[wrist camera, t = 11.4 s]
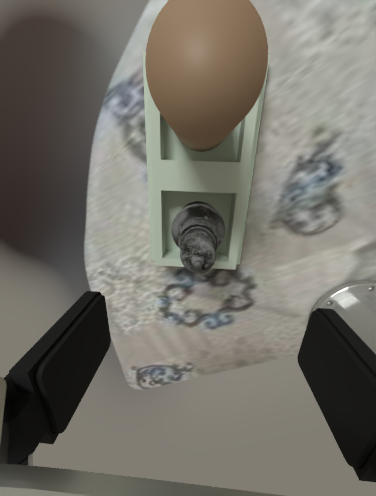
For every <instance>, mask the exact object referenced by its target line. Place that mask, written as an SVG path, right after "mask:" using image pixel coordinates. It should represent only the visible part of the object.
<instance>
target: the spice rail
mask: <svg viewBox="0 0 376 496" xmlns="http://www.w3.org/2000/svg"><path fill="white" fill-rule="evenodd" d="M269 57H270V53H268V45H267V37H266V33H265V29H264V26H263V23H262V21H261V18H260V16H259V14H258V12H257V10H256V9H255V7H254V6H253V5H252V3H251V2H250V1H249V0H169V1H168V2H167V3H166V5H165V6H164V7H163V8H162V10H161V11H160V13H159V14H158V16H157V18H156V20H155V22H154V24H153V26H152V29H151V32H150V35H149V39H148V43H147V48H146V51H143V74H144V99H145V125H146V150H147V175H148V200H149V225H150V250H151V260H154V265H158V266H177V267H184V265H183V264H182V262H181V258H180V248H179V247H178V246H177V245H176V244H175V242H174V240H173V237H172V234H171V226H172V222H173V220H174V218H175V216H176V214H177V213H178V212H179V211H180V210H181V209H182V208H183V207H184V206H186V205H187V204H189V203H192V202H196V201H202V202H205V203H208V204H209V205H211V206H212V207H213V208H214V209H215V210H217V211H218V213H219V214H220V215H221V216H222V218H223V220H224V224H225V236H224V239H223V241H222V243H221V244H220V246H219V247H218V248H217V249H216V259H215V262H214V265H213V266H212V267H211V268H214V269H233V270H236V264H239V265H240V258H241V251H242V244H243V238H244V231H245V224H246V217H247V210H248V203H249V196H250V189H251V182H252V175H253V168H254V161H255V154H256V147H257V140H258V134H259V127H260V120H261V113H262V106H263V99H264V92H265V85H266V78H267V71H268V64H269Z"/></svg>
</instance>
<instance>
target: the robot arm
mask: <svg viewBox="0 0 376 496" xmlns="http://www.w3.org/2000/svg"><path fill="white" fill-rule="evenodd" d="M110 342H111V339H110V331H109V324H108V317H107V310H106V302H105V297H104V296H103V295H101V293H100V292H92V291H87V292H85V293H84V294H83V295H82V296H81V297H80V298H79V299H78V301H76V303H75V304H74V305H73V306H72V307H71V308H70V309H69V310H68V311H67V312H66V313H65V314H64V315H63V316H62V317H61V318H60V319H59V320H58V321H57V322H56V323H55V324H54V325H53V326H52V327H51V328H50V329H49V330H48V331H47V332H46V333H45V334H44V336H43V337H42V338H41V339H40V340H39V341H38V342H37V343H36V344H35V345H34V346H33V347H32V348H31V349H30V350H29V351H28V352H27V353H26V354H25V355H24V356H23V357H22V358H21V359H20V360H19V361H18V362H17V363H16V364H15V366H13V367H12V369H11V370H10V371H9V374H8V375H7V376H6V377H5V378H4V379H3V378H2V377H0V496H283V495H274V494H267V493H259V492H251V491H242V490H235V489H227V488H219V487H211V486H202V485H195V484H186V483H179V482H171V481H163V480H155V479H146V478H138V477H129V476H121V475H112V474H104V473H95V472H87V471H78V470H69V469H59V468H47V467H38V466H33V452H34V451H35V449H36V447H37V446H38V444H39V443H47V444H53V443H54V442H55V440H56V438H57V436H58V434H59V433H62V432H64V430H65V429H66V427H67V426H68V423H69V422H70V420H71V418H72V416H73V414H74V412H75V411H76V409H77V407H78V405H79V403H80V401H81V399H82V397H83V396H84V394H85V392H86V390H87V388H88V386H89V384H90V382H91V381H92V379H93V377H94V375H95V373H96V371H97V369H98V367H99V366H100V364H101V362H102V360H103V358H104V356H105V354H106V352H107V351H108V349H109V346H110ZM298 363H299V366H300V368H301V370H302V372H303V374H304V376H305V378H306V380H307V382H308V384H309V386H310V388H311V390H312V392H313V395H314V397H315V398H316V401H317V402H318V405H319V406H320V409H321V411H322V413H323V415H324V417H325V419H326V421H327V423H328V425H329V427H330V429H331V431H332V433H333V435H334V438H335V440H336V442H337V444H338V446H339V448H340V450H341V452H342V454H343V456H344V458H345V460H346V462H347V463H348V464H349V465H350V466H352V467H353V468H354V470H355V472H356V474H357V476H358V478H359V480H361V481H371V482H376V281H371V280H361V281H354V282H349V283H346V284H343V285H340V286H338V287H336V288H334V289H332V290H331V291H329V292H328V293H326V294H325V295H324V296H323V297H322V298H321V299H320V300H319V301H318V302H317V303H316V304H315V306H314V307H313V309H312V312H311V314H310V318H309V322H308V325H307V328H306V331H305V335H304V338H303V341H302V344H301V347H300V350H299V354H298Z"/></svg>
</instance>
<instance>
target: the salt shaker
mask: <svg viewBox="0 0 376 496" xmlns="http://www.w3.org/2000/svg"><path fill="white" fill-rule="evenodd" d="M171 234H172V237H173V240H174V242H175V244H176V245H177V246H178V247H179V248H180V258H181V262H182V264H183V265H184V267H185V268H186V269H188V270H189V271H191V272H195V273H202V272H205V271H208V270H209V269H210V268H211V267H212V266H213V265H214V262H215V259H216V249H217V248H218V247H219V246H220V244H221V243H222V241H223V239H224V236H225V224H224V220H223V218H222V216H221V215H220V214H219V213H218V211H217V210H215V209H214V208H213V207H212V206H211V205H209V204H208V203H205V202H202V201H196V202H192V203H189V204H187V205H186V206H184V207H183V208H182V209H181V210H180V211H179V212H178V213H177V214H176V216H175V218H174V220H173V222H172V226H171Z"/></svg>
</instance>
